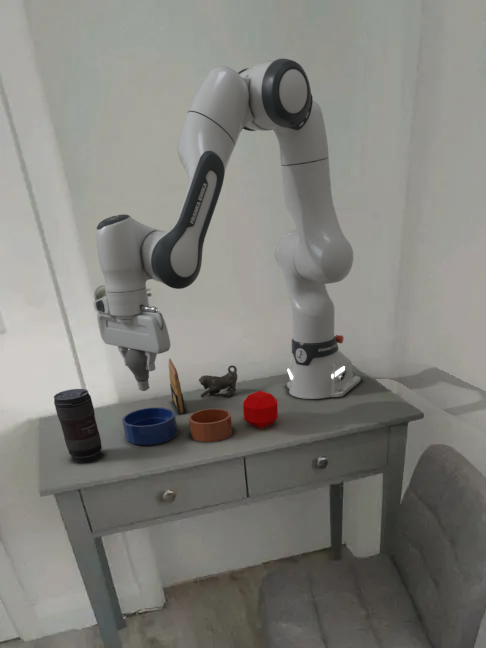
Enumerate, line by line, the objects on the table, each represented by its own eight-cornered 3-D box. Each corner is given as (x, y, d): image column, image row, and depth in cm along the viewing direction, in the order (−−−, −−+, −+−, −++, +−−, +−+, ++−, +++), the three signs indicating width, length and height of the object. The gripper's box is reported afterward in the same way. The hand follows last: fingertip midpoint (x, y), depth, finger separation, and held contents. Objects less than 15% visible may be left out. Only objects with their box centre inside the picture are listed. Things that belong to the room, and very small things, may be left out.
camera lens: (105, 448, 147) (90, 386, 138) (103, 462, 140) (88, 397, 131) (71, 452, 146) (54, 389, 137) (68, 466, 140) (50, 401, 131)
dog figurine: (234, 388, 177) (232, 362, 172) (242, 394, 172) (239, 367, 168) (195, 396, 173) (192, 369, 169) (202, 402, 169) (198, 375, 164)
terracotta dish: (211, 423, 156) (208, 405, 153) (240, 430, 150) (239, 413, 148) (182, 436, 150) (180, 418, 147) (212, 445, 144) (210, 426, 142)
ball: (262, 416, 158) (260, 386, 153) (284, 423, 153) (282, 393, 148) (239, 425, 153) (236, 395, 149) (261, 433, 148) (258, 402, 144)
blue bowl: (153, 423, 158) (150, 404, 155) (188, 432, 152) (185, 413, 149) (115, 439, 151) (111, 420, 148) (150, 450, 144) (146, 430, 141)
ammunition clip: (185, 413, 163) (178, 367, 155) (178, 414, 162) (171, 368, 155) (179, 400, 171) (172, 356, 164) (172, 401, 171) (165, 357, 163)
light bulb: (129, 389, 146) (120, 345, 140) (153, 384, 147) (145, 341, 141) (134, 396, 141) (126, 351, 135) (159, 391, 143) (152, 347, 137)
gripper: (171, 304, 129) (180, 370, 137) (110, 296, 140) (122, 358, 148) (149, 310, 125) (160, 378, 134) (88, 302, 136) (102, 365, 145)
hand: (140, 368), depth 141 cm, fingers closed on light bulb, 6 cm apart
